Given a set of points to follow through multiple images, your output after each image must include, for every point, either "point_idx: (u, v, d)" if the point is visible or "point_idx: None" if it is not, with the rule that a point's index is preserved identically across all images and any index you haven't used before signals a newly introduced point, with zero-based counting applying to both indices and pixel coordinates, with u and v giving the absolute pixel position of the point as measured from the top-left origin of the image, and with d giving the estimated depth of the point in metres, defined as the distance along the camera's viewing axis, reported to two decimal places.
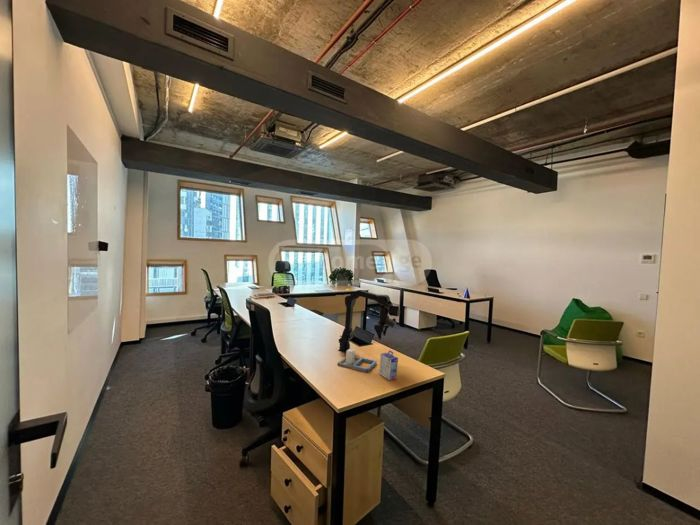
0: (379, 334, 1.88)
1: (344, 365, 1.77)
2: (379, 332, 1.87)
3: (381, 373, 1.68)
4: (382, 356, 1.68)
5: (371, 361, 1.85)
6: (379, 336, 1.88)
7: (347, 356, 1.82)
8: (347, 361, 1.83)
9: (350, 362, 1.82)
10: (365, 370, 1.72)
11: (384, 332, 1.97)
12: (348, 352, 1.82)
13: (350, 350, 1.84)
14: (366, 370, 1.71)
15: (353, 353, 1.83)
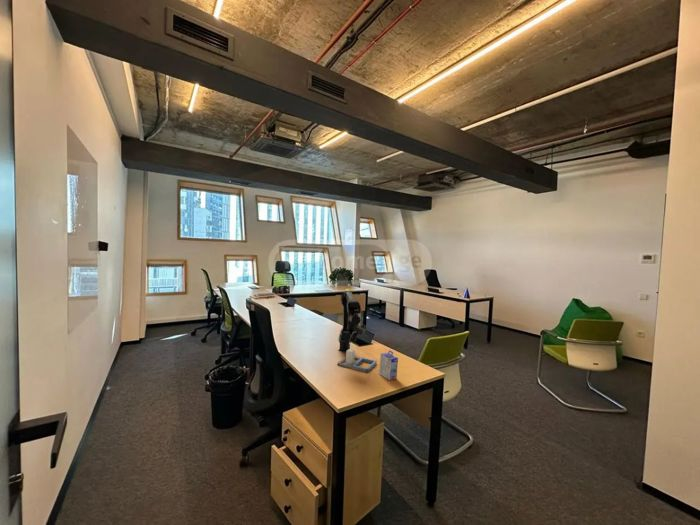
0: (347, 342, 1.78)
1: (344, 365, 1.77)
2: (347, 340, 1.78)
3: (381, 373, 1.68)
4: (382, 356, 1.68)
5: (371, 361, 1.85)
6: (347, 344, 1.79)
7: (347, 356, 1.82)
8: (347, 361, 1.83)
9: (350, 362, 1.82)
10: (365, 370, 1.72)
11: (354, 339, 1.88)
12: (348, 352, 1.82)
13: (350, 350, 1.84)
14: (366, 370, 1.71)
15: (353, 353, 1.83)
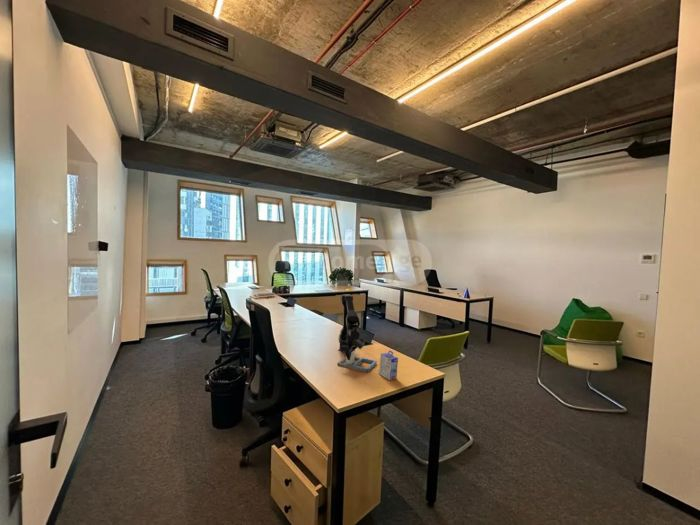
0: (348, 355, 1.81)
1: (344, 365, 1.77)
2: (347, 353, 1.81)
3: (381, 373, 1.68)
4: (382, 356, 1.68)
5: (371, 361, 1.85)
6: (348, 357, 1.81)
7: None
8: (347, 361, 1.83)
9: (350, 362, 1.82)
10: (365, 370, 1.72)
11: None
12: None
13: None
14: (366, 370, 1.71)
15: (353, 353, 1.83)
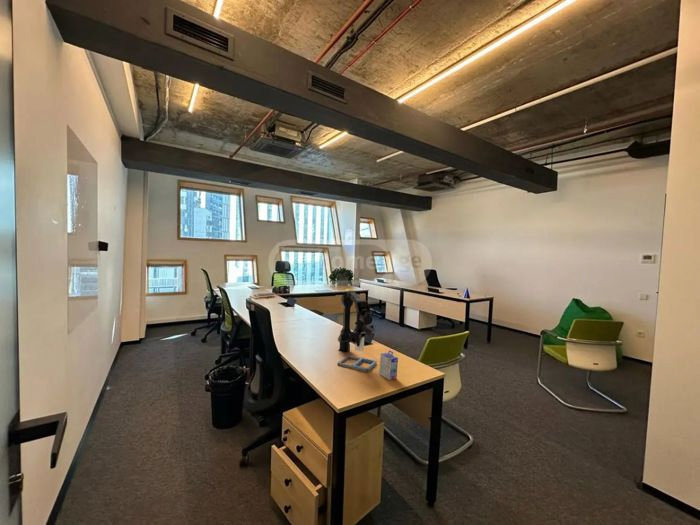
0: (357, 341, 1.78)
1: (344, 365, 1.77)
2: (357, 339, 1.78)
3: (381, 373, 1.68)
4: (382, 356, 1.68)
5: (371, 361, 1.85)
6: (357, 343, 1.78)
7: None
8: (356, 348, 1.79)
9: (360, 349, 1.78)
10: (365, 370, 1.72)
11: None
12: None
13: None
14: (366, 370, 1.71)
15: (363, 339, 1.80)
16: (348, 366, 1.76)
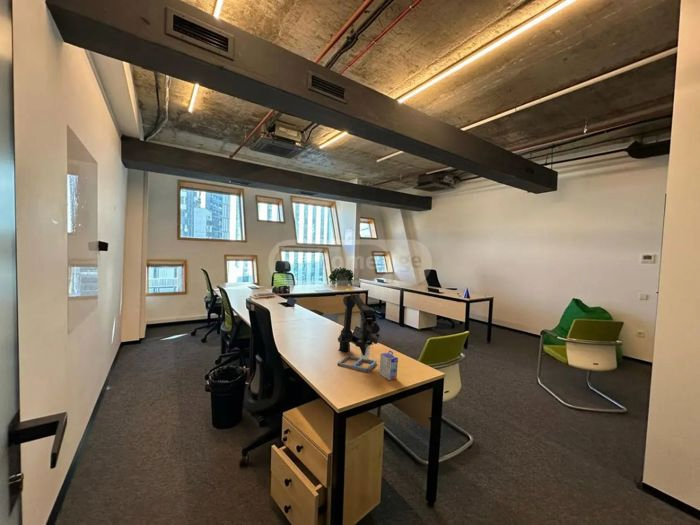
0: (363, 350, 1.76)
1: (344, 365, 1.77)
2: (363, 348, 1.76)
3: (381, 373, 1.68)
4: (382, 356, 1.68)
5: (371, 361, 1.85)
6: (363, 352, 1.77)
7: None
8: (362, 356, 1.78)
9: (365, 357, 1.77)
10: (365, 370, 1.72)
11: None
12: None
13: None
14: (366, 370, 1.71)
15: (368, 348, 1.79)
16: (348, 366, 1.76)
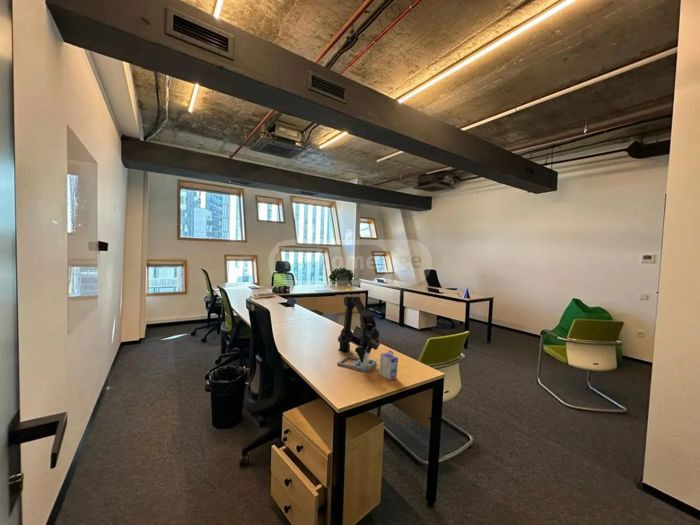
0: (361, 357, 1.74)
1: (344, 365, 1.77)
2: (361, 355, 1.74)
3: (381, 373, 1.68)
4: (382, 356, 1.68)
5: (371, 361, 1.85)
6: (361, 359, 1.75)
7: None
8: (362, 364, 1.78)
9: (365, 366, 1.77)
10: (365, 370, 1.72)
11: None
12: None
13: None
14: (366, 370, 1.71)
15: (368, 356, 1.79)
16: (348, 366, 1.76)
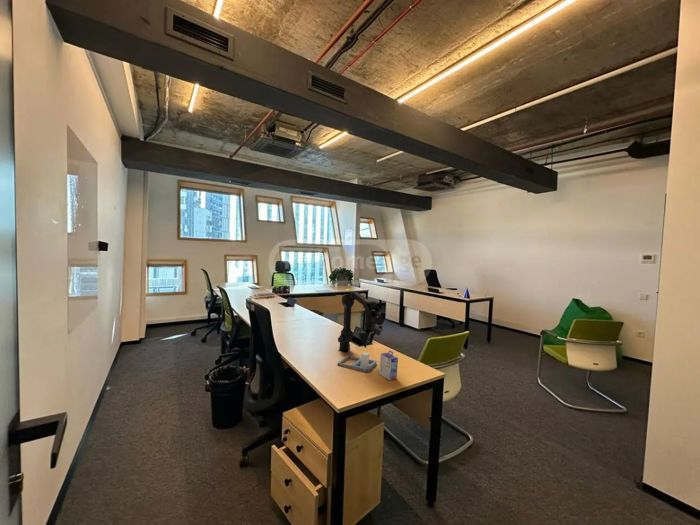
0: (364, 342, 1.78)
1: (344, 365, 1.77)
2: (364, 340, 1.78)
3: (381, 373, 1.68)
4: (382, 356, 1.68)
5: (371, 361, 1.85)
6: (364, 344, 1.79)
7: (362, 360, 1.78)
8: (362, 364, 1.78)
9: (365, 366, 1.77)
10: (365, 370, 1.72)
11: (370, 340, 1.88)
12: (363, 355, 1.78)
13: (365, 353, 1.79)
14: (366, 370, 1.71)
15: (368, 356, 1.79)
16: (348, 366, 1.76)
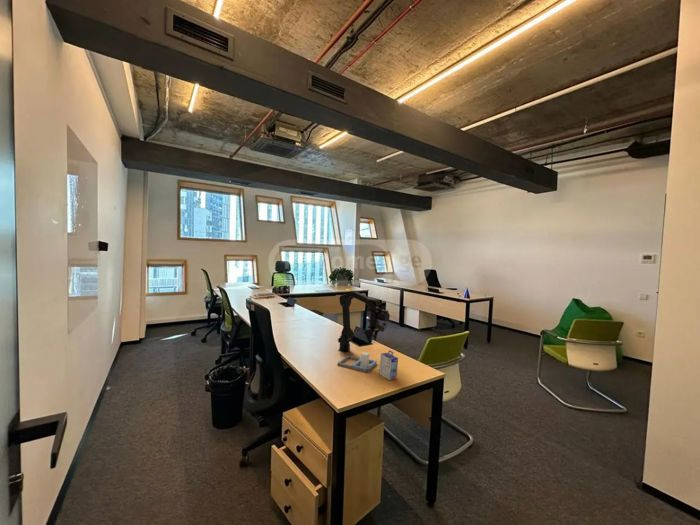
0: (369, 339, 1.85)
1: (344, 365, 1.77)
2: (369, 337, 1.85)
3: (381, 373, 1.68)
4: (382, 356, 1.68)
5: (371, 361, 1.85)
6: (369, 341, 1.85)
7: (362, 360, 1.78)
8: (362, 364, 1.78)
9: (365, 366, 1.77)
10: (365, 370, 1.72)
11: (375, 336, 1.94)
12: (363, 355, 1.78)
13: (365, 353, 1.79)
14: (366, 370, 1.71)
15: (368, 356, 1.79)
16: (348, 366, 1.76)
